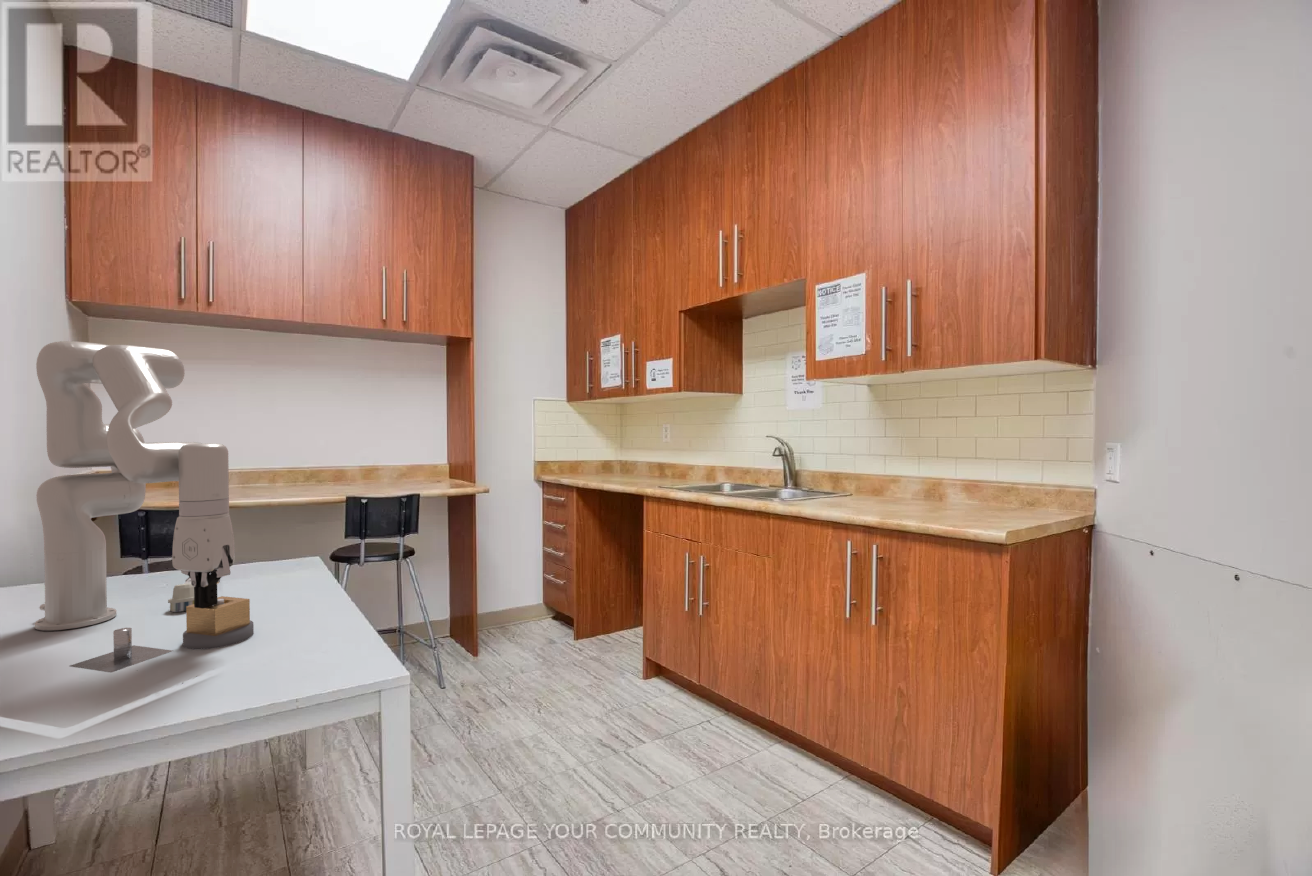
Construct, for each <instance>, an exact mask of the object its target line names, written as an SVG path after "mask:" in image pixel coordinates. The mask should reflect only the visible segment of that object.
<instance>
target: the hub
mask: <svg viewBox="0 0 1312 876" xmlns="http://www.w3.org/2000/svg"><path fill="white" fill-rule="evenodd" d="M222 604H224V599H217V604H216V605H212V606H218V605H222ZM254 625H255V624H254V622H253V621H252V620H250V624H249V625H246V626H243V627H240V628H237V629H234V630H231V631H229V632H226V633H223V634H220V635H217V636H211V635H202V634H194V633H187V629H186V630H185V631H184V632H183V633H182V646H183V648H185V649H189V650H210V649H217V648H223V647H228V646H232V645H235V644H238V643H241V642H243V641H246V640H249V639H250V638H251V637H253V636H254V634H255V633H254V632H255V631H254Z"/></svg>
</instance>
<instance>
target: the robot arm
mask: <svg viewBox="0 0 1312 876" xmlns="http://www.w3.org/2000/svg"><path fill="white" fill-rule="evenodd" d="M35 365H36V366H35V367H36V368H35V369H36V377H37V379H38V382H39V386H40V387H41V390H42V393H43V395H44V399H45V404H46V406H45V407H46V452H47V457H48V461H50V463H51V464H52V465H53V466H55V467H58V468H64V469H77V468H78V469H83V468H86V469H88V468H107V467H108V468H109V467H110V469H111V472H101V473H99V472H98V473H78V474H77V473H76V474H64V475H57V476H54V477H52V478H51V477H50V478H49V479H47V480H45V481H43V482H42V483H41V484H40V485H39V487H38V488H37V490H36V503H37V507H38V512H39V515H40V518H41V525H42V533H43V554H44V555H43V558H44V559H43V560H44V564H43V565H44V603H42V604H40V606H39V610H41V611H44V617H42V618H40V619H38V620H36V621H35V622H34V629H36V630H38V631H44V632H45V631H47V632H49V631H50V632H51V631H52V632H53V631H63V630H72V629H78V628H84V627H88V626H92V625H96V624H100V623H103V622H106V621H109V620H111V619H114V618H115V617H116V616H117V614H118V613H117V610H116V608H113V607H107V605H108V603H107V602H108V601H107V600H108V599H107V598H108V595H107V589H108V587H107V585H108V584H107V538H106V536H105V534H104V531H103V530H102V529H101V528H100V527H99V526H98V525H96V523H95V522H94V521H93V520H92V518H98V517H106V516H107V517H108V516H114V515H115V516H117V515H125V514H129V513H133V512H136V511H138V510H139V509H141V507H142V506H143V504H144V502H145V499H146V490H147V489H146V488H147V487H146V486H147V485H146V484H153V483H154V484H156V483H165V482H166V483H167V482H178V517H176V521H175V526H174V530H173V531H174V532H173V536H172V537H173V538H172V540H173V541H172V553H171V554H172V555H171V557H172V559H171V560H172V561H171V562H172V564H171V565H172V567H173V568H174V569H176V570H178V571H180V573H182V574H183V575H185V576H188V578H189V577H190V579H191V584H192V586H195V587H194V607H195V608H205V607H209V606H212V605H216V604H217V598H218V584H219V583H221V582H220V581H221V578H223V577H227V576H230V575H231V568H230V567H232V566H233V565H234V563H235V538H234V537H235V536H234V530H233V529H234V528H233V523H232V520H231V515H230V498H229V497H230V494H229V493H230V486H229V485H230V484H229V482H230V479H229V468H230V467H229V450H228V447H227V446H226V445H224V444H221V443H203V442H198V441H197V442H196V441H183V442H182V441H181V442H180V441H169V442H168V441H167V442H166V441H165V442H163V441H162V442H161V441H159V442H145V439H144V437H143V436H142V433H141V431H139V429H137V428H139V427H142V426H145V425H149V424H150V423H153V422H155V421H159V420H160V419H161V418H163V417H165V416H166V415H167V414H168V413H169V412H170V411H171V409H172V406H173V400H172V398H171V395H169V393H168V391H167V390H166V389H174V388H176V387H179V386H180V385H181V384H182V382H184V381H183V380H184V377H185V367H184V366H185V365H184V364H183V361H182V360H181V358H180V357H179V356H178V355H177V354H176V353H175V352H173V351H171V350H169V349H164V348H157V347H148V346H140V345H132V344H131V345H130V344H104V343H95V342H89V341H88V342H85V341H77V340H75V341H73V340H63V341H62V340H61V341H54V342H50V343H48V344H46V345H44V346H43V347H42V348H41V349H40V351H39V352H38V355H37V358H36V364H35ZM87 384H99V385H102V386H103V387H104V390H105V391H106V392H107V395H108V396H109V398H110V399H111V402H112V403H113V405H114V407H115V408H116V410H117V412H116V413H115V415H114V416H113V417H112V419H111V421H110V422H109V423H104V422H103V405H102V401H101V399H100V397H98V395H97V394H96V392H94V391H93V390H92V388H90V387H89V386H88V385H87Z"/></svg>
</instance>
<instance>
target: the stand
mask: <svg viewBox="0 0 1312 876" xmlns="http://www.w3.org/2000/svg"><path fill="white" fill-rule="evenodd" d="M112 633H113V635H112V636H113V651H111V652H107V653H105V654H102V655H98V656H95V657H91V658H90V659H87V660H83V661H80V662H76V663H73V664H70V665H69V667H72V668H77V669H78V668H79V669H84V670H85V669H86V670H91V671H98V672H105V673H114V672H117V671H120V670H122V669H127V668H128V667H130V666H134V665H137V664H139V663H143V662H145V661H149V660H151V659H154V658H157V657H160V656H163V655H166V654H170V653H172V652H174V650H171V649H164V648H158V647H157V648H156V647H149V646H141V645H134V644H133V639H132V638H133V637H132V636H133V633H132V627H121V628H117V629H115V630H113V632H112Z"/></svg>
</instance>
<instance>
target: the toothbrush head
mask: <svg viewBox="0 0 1312 876" xmlns="http://www.w3.org/2000/svg"><path fill="white" fill-rule="evenodd" d="M194 587H195V586H192V584H191V579H190V577H189V576H188V577H187V578H186V579H185V582H184V583H181V584H175V585H174V587H173V591H172V598H169V599H168V600H167V603H168V604H169V611H170V612H173V613H176V612H177V613H178V612H184V611H185V612H186V606H189V605H193V604H194Z"/></svg>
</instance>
